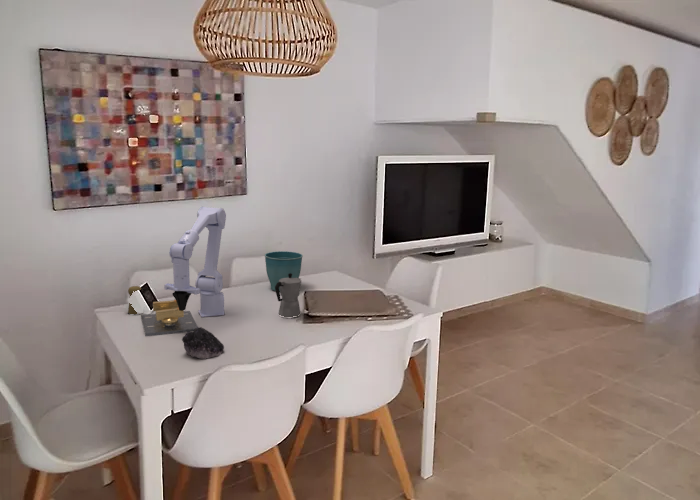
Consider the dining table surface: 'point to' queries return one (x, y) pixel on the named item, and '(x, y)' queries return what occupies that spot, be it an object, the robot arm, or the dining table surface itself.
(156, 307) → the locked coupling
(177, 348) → the dining table surface
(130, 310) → the cork
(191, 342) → the crystal cluster
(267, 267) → the flower pot
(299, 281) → the coffeepot
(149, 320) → the plate
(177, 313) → the brass lever handle
